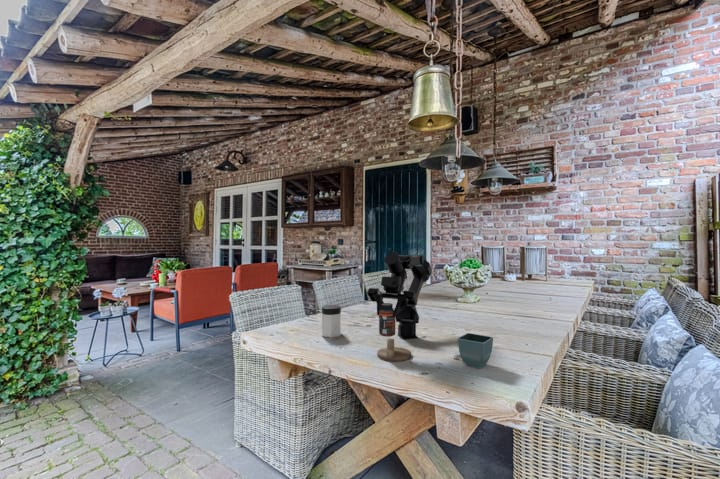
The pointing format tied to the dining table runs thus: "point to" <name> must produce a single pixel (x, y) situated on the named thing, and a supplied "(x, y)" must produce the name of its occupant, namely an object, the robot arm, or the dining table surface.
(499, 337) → the dining table surface
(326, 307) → the jar
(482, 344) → the flower pot
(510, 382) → the dining table surface
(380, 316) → the supplement bottle
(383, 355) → the flange plate
